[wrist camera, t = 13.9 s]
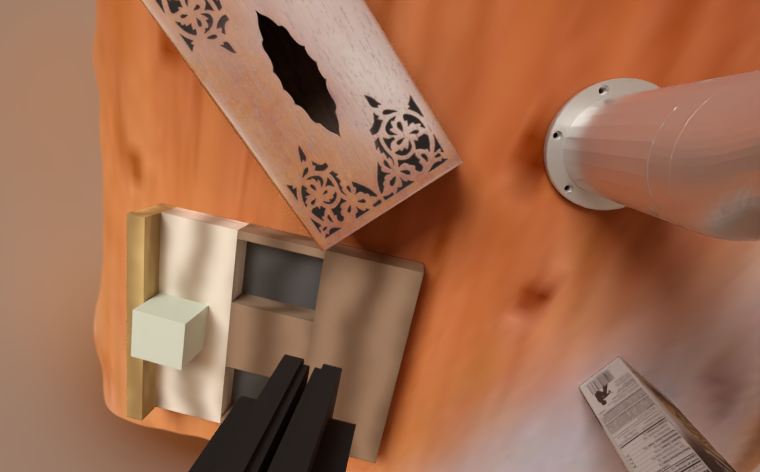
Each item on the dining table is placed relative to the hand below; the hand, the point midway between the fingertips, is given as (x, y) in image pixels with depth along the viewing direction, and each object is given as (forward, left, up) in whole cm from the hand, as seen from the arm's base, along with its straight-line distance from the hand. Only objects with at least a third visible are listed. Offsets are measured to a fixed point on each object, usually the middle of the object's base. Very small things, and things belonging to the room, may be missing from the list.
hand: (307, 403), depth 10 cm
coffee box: (-32, +17, -32) cm, 49 cm away
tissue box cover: (+9, -10, -33) cm, 35 cm away
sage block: (+22, +20, -29) cm, 41 cm away
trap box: (+11, +20, -32) cm, 39 cm away
